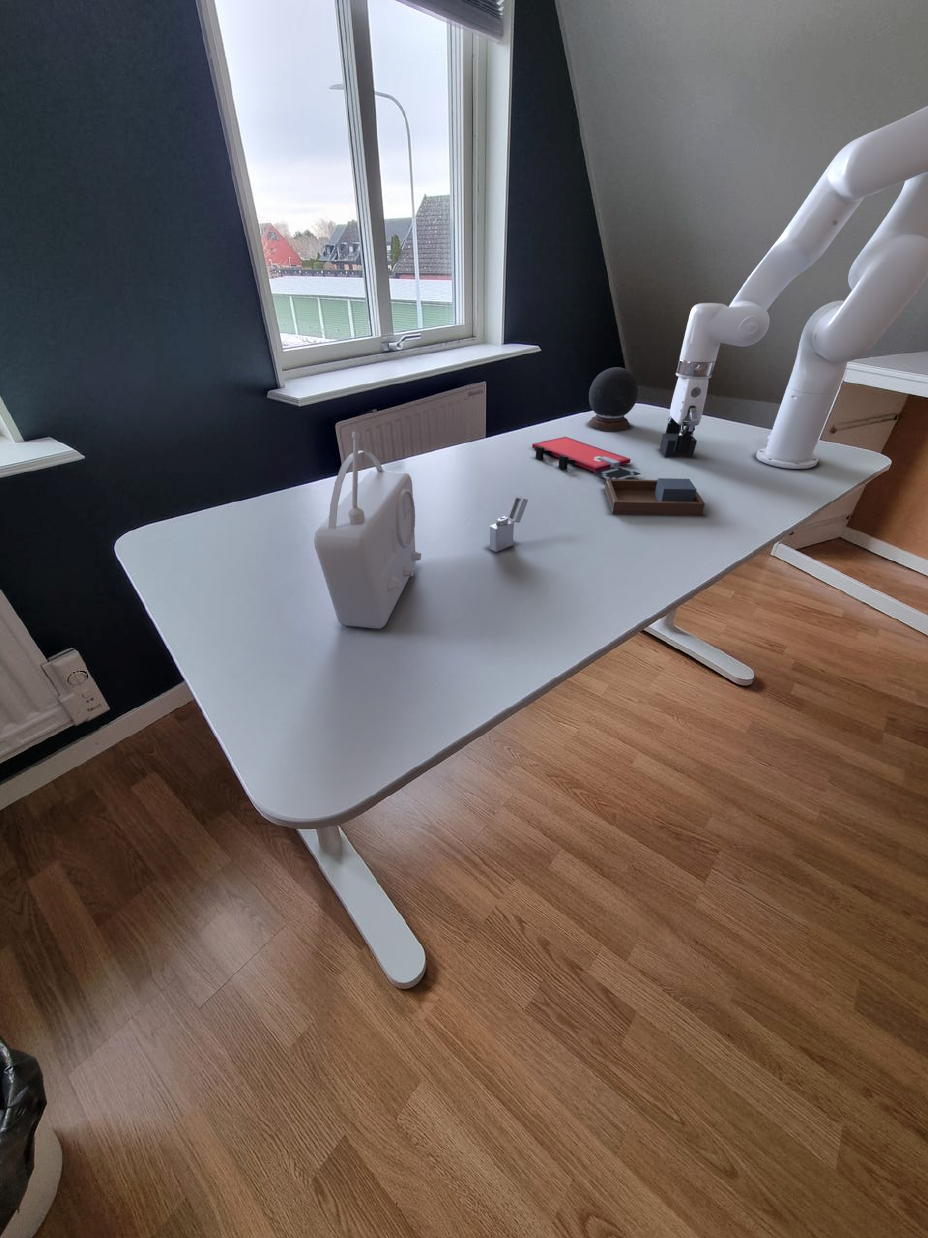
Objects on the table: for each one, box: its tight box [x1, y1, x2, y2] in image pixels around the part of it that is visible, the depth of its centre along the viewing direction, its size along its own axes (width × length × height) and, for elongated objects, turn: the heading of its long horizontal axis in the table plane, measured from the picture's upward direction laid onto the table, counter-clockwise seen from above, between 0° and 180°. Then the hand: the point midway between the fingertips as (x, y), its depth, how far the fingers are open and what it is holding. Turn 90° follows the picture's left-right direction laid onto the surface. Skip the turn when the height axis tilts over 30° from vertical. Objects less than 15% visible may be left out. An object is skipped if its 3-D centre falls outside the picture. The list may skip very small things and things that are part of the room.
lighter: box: [489, 495, 529, 553], centre depth 84 cm, size 7×2×8 cm, turn 129°
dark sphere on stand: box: [588, 366, 639, 432], centre depth 138 cm, size 13×13×15 cm
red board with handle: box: [531, 436, 642, 480], centre depth 117 cm, size 30×3×15 cm
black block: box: [659, 433, 698, 458], centre depth 121 cm, size 6×7×4 cm
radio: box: [313, 430, 422, 630], centre depth 67 cm, size 22×8×25 cm, turn 170°
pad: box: [654, 477, 698, 502], centre depth 97 cm, size 6×6×4 cm
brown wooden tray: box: [604, 478, 706, 517], centre depth 98 cm, size 12×17×2 cm
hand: (675, 445), depth 121 cm, fingers open, 9 cm apart
